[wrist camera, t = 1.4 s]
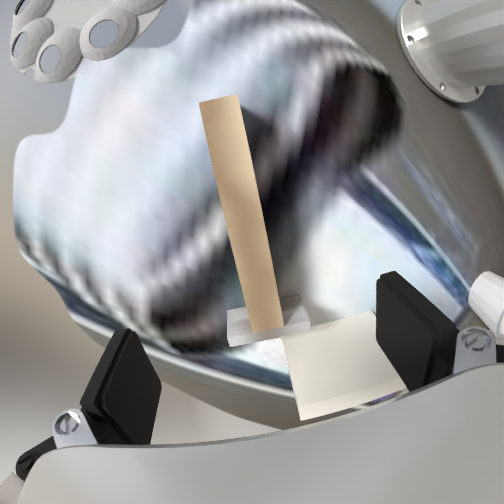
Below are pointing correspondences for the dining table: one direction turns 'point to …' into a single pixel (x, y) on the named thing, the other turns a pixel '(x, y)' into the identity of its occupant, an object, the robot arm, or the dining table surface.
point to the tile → (338, 366)
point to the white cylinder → (489, 301)
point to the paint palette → (76, 31)
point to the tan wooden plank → (247, 231)
